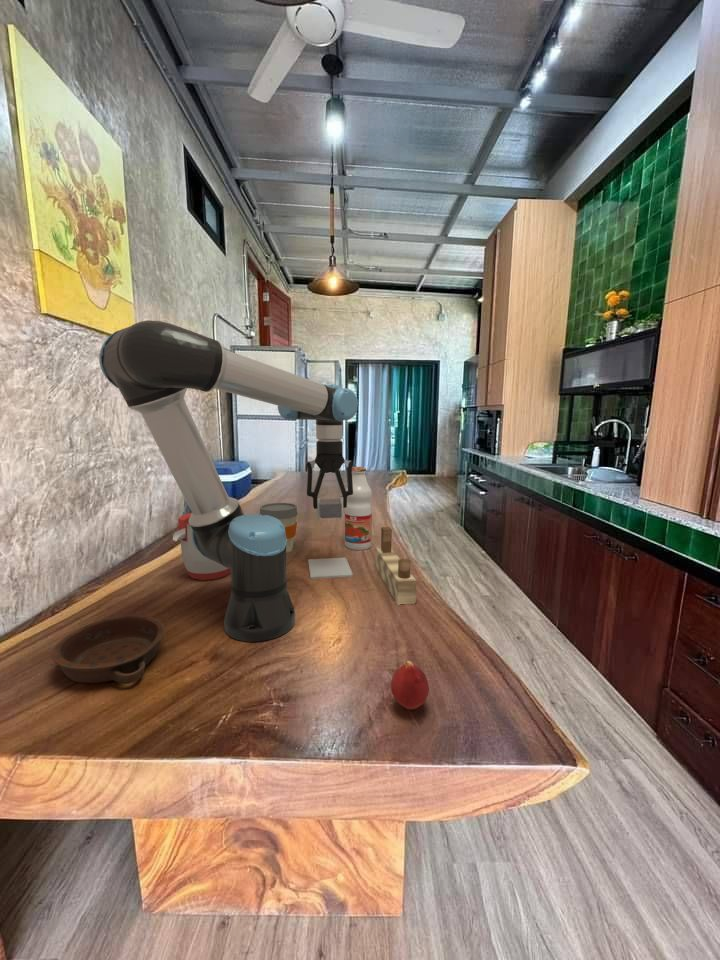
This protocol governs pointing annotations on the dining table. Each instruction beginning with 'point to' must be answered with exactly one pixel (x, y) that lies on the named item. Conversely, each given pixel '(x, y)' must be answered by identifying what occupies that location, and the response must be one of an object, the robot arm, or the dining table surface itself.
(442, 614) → the dining table surface
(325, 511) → the lever cap
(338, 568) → the mat
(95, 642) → the dish
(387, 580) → the wooden peg base
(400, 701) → the onion
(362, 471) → the fruit juice
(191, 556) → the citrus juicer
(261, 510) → the reusable coffee cup
